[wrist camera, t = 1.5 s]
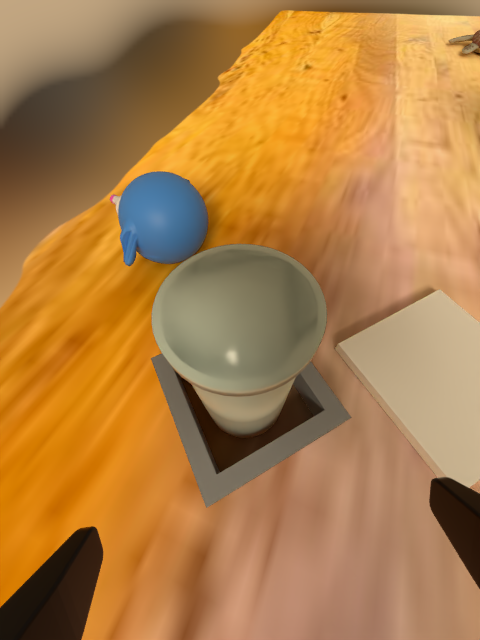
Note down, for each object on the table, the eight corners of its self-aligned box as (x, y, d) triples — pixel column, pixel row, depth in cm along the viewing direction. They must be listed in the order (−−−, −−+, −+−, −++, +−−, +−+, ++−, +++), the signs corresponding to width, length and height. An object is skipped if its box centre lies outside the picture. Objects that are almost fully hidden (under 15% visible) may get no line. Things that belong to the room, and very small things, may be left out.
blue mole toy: (158, 203, 35) (134, 131, 28) (233, 232, 31) (229, 158, 24) (89, 260, 30) (38, 190, 23) (171, 302, 26) (141, 235, 19)
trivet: (562, 406, 20) (576, 402, 19) (450, 493, 17) (461, 494, 16) (433, 295, 26) (439, 289, 25) (334, 348, 23) (338, 343, 22)
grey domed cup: (294, 436, 19) (352, 375, 8) (205, 448, 19) (145, 402, 8) (272, 333, 24) (291, 206, 13) (201, 341, 24) (158, 220, 13)
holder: (338, 425, 20) (351, 417, 17) (212, 504, 17) (206, 508, 15) (267, 322, 25) (269, 303, 22) (162, 372, 22) (151, 358, 20)
